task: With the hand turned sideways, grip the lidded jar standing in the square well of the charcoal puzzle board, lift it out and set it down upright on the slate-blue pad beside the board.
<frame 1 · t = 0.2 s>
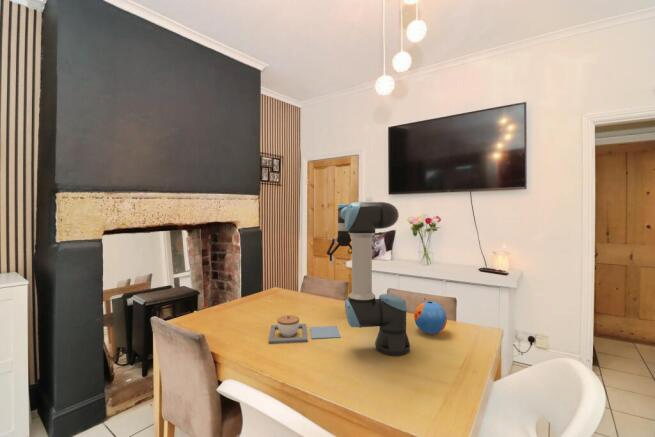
hand: (343, 266, 186), 28 cm above the table, tool pointing down, fingers open, 13 cm apart
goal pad: (324, 332, 158), on the table
treat dispenser ball: (430, 333, 158), on the table
lidded jar: (288, 334, 157), resting in puzzle board
puzzle board: (288, 334, 157), on the table
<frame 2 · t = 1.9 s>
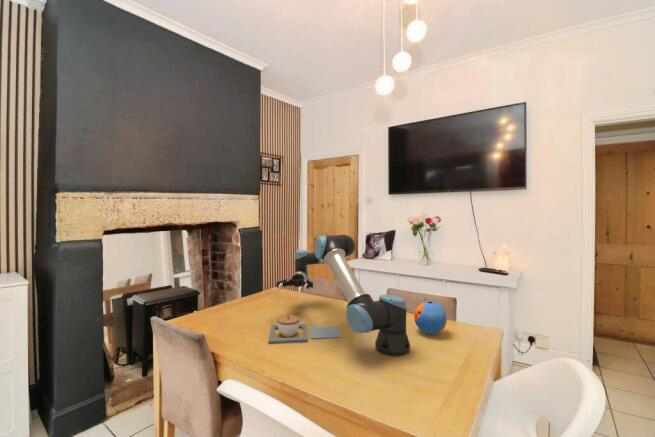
hand: (292, 288, 166), 20 cm above the table, tool horizontal, fingers open, 13 cm apart
nothing on the table moved.
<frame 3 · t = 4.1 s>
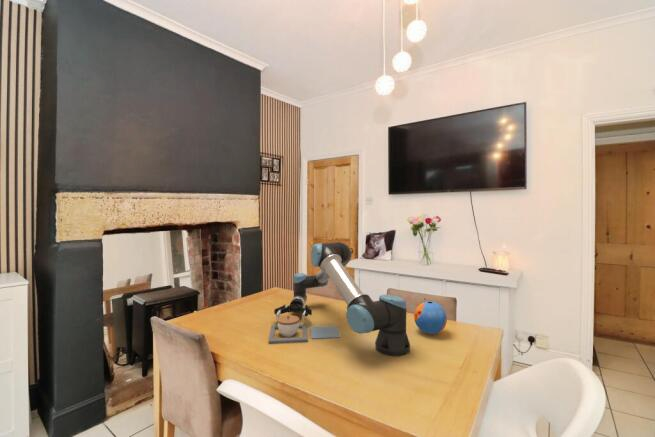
hand: (290, 317, 163), 6 cm above the table, tool horizontal, fingers open, 13 cm apart
nothing on the table moved.
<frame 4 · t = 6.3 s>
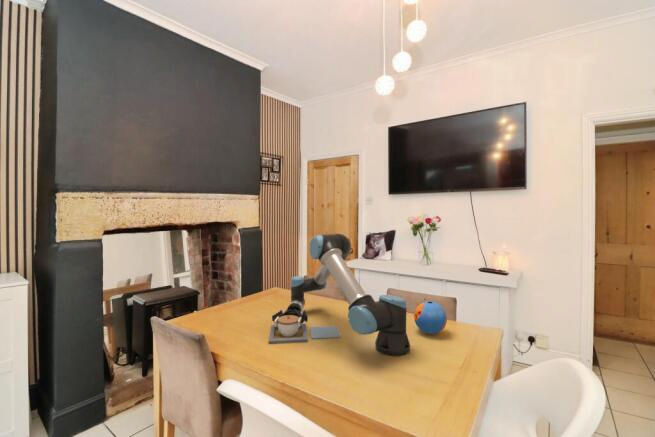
hand: (286, 324, 152), 7 cm above the table, tool horizontal, fingers closed on lidded jar, 11 cm apart
lidded jar: (288, 334, 157), resting in puzzle board, touching gripper
everything else where it was.
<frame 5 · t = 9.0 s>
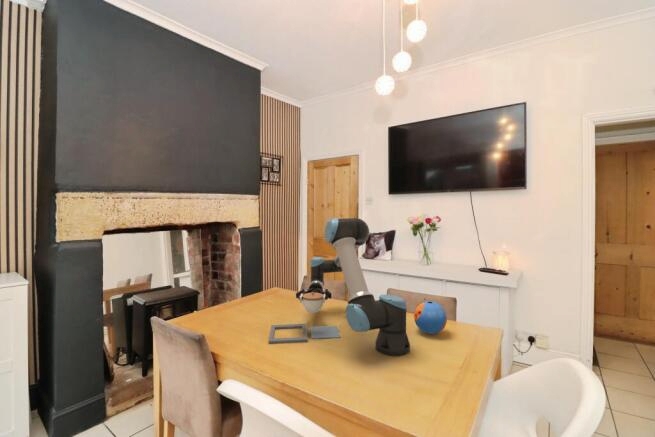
hand: (312, 300, 154), 18 cm above the table, tool horizontal, fingers closed on lidded jar, 11 cm apart
lidded jar: (312, 311, 158), point 11 cm above the table, touching gripper
everything else where it was.
when the fingers open (8 cm above the table, at t = 11.8 s): lidded jar drops 1 cm, resting on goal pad.
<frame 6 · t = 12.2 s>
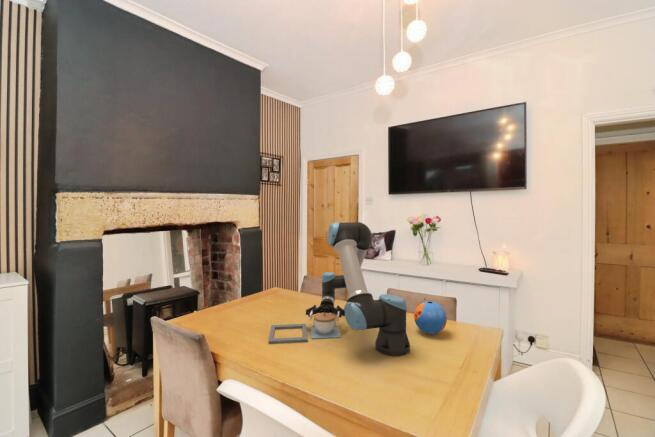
hand: (324, 318, 155), 8 cm above the table, tool horizontal, fingers open, 13 cm apart
lidded jar: (324, 332, 159), resting on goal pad
everything else where it was.
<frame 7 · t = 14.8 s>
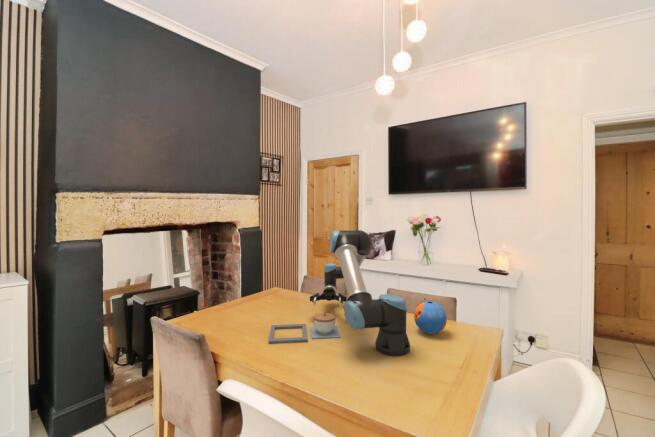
hand: (327, 303, 168), 12 cm above the table, tool horizontal, fingers open, 13 cm apart
nothing on the table moved.
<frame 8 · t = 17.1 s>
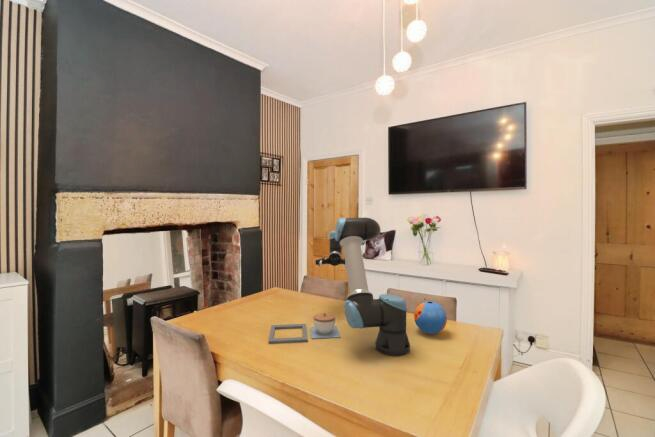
hand: (333, 265, 168), 32 cm above the table, tool horizontal, fingers open, 13 cm apart
nothing on the table moved.
at the end: lidded jar inside the target area on the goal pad (0.1 cm from its centre), point 0.3 cm above the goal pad's base; lidded jar tilted 0°; the gripper is holding nothing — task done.
